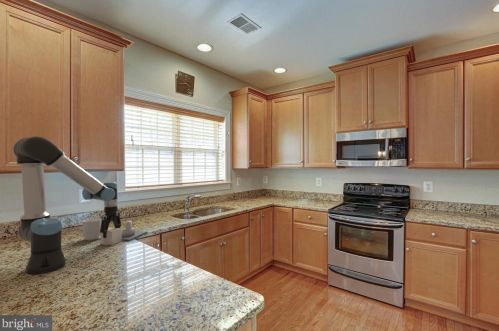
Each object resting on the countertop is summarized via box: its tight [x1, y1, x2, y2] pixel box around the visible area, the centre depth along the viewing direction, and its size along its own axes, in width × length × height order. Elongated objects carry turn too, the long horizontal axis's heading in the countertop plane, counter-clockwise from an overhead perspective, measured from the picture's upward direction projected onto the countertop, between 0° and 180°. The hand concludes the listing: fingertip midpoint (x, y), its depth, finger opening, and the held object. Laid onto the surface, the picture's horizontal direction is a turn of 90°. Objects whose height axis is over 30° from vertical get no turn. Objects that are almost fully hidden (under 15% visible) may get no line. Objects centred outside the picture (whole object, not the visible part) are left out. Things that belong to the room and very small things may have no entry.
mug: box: [82, 218, 102, 242], centre depth 168 cm, size 15×11×13 cm
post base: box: [120, 220, 148, 242], centre depth 174 cm, size 20×16×10 cm
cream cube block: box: [100, 227, 122, 246], centre depth 160 cm, size 8×8×8 cm
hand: (111, 240), depth 160 cm, fingers closed on cream cube block, 8 cm apart
